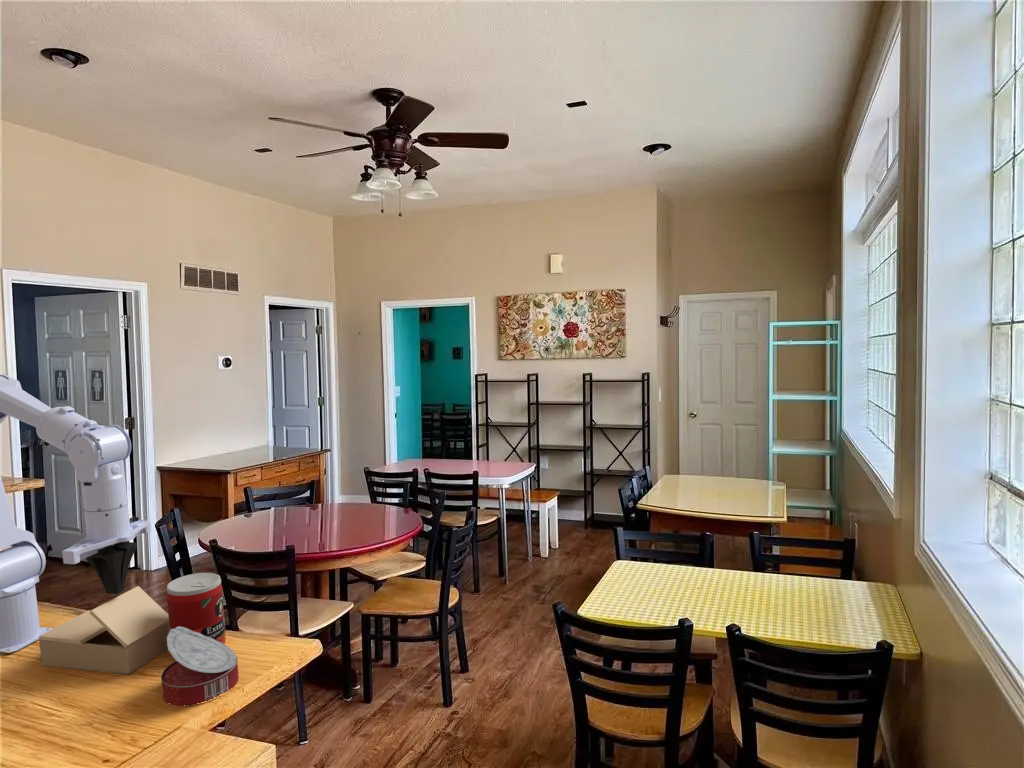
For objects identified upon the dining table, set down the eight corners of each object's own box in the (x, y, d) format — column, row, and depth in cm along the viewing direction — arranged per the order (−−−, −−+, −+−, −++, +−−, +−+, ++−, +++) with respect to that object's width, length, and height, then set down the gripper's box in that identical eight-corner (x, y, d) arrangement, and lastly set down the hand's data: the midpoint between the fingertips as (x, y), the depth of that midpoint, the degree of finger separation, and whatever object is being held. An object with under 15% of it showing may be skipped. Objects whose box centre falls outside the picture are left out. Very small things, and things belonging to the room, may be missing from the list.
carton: (41, 665, 102) (39, 640, 102) (91, 637, 111) (89, 614, 110) (128, 675, 98) (126, 649, 98) (173, 645, 107) (170, 621, 107)
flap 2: (170, 620, 107) (172, 617, 106) (125, 648, 98) (127, 645, 98) (136, 588, 108) (138, 585, 107) (89, 613, 99) (91, 610, 99)
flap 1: (39, 639, 102) (39, 635, 102) (89, 613, 110) (89, 610, 110) (80, 644, 100) (80, 640, 100) (128, 617, 109) (127, 614, 108)
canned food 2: (201, 699, 100) (218, 629, 103) (246, 709, 95) (263, 635, 98) (130, 700, 91) (152, 623, 94) (176, 712, 86) (197, 630, 89)
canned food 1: (213, 660, 102) (207, 591, 101) (161, 661, 102) (155, 592, 101) (235, 635, 110) (229, 571, 108) (187, 637, 110) (181, 572, 109)
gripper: (87, 522, 94) (97, 614, 95) (163, 494, 108) (171, 575, 109) (46, 520, 95) (57, 611, 97) (127, 493, 109) (135, 572, 111)
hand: (115, 592), depth 103 cm, fingers closed
